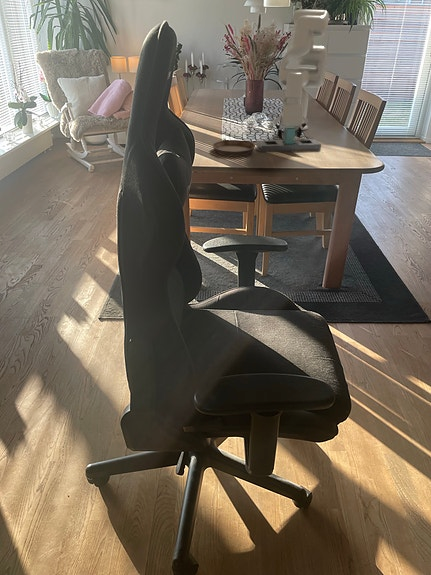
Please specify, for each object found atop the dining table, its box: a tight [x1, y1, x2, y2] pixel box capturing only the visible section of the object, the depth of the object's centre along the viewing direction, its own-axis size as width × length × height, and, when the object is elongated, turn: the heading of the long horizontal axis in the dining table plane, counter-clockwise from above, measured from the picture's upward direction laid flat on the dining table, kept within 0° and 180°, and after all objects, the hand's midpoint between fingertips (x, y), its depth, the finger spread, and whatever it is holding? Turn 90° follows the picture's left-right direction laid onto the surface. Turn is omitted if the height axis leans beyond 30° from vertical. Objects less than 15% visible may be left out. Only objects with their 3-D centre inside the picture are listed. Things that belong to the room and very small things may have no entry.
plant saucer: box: [212, 139, 256, 157], centre depth 223 cm, size 21×21×3 cm
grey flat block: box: [255, 138, 322, 153], centre depth 229 cm, size 10×30×3 cm, turn 99°
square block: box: [283, 126, 297, 144], centre depth 227 cm, size 4×4×10 cm
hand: (289, 137), depth 227 cm, fingers open, 9 cm apart
